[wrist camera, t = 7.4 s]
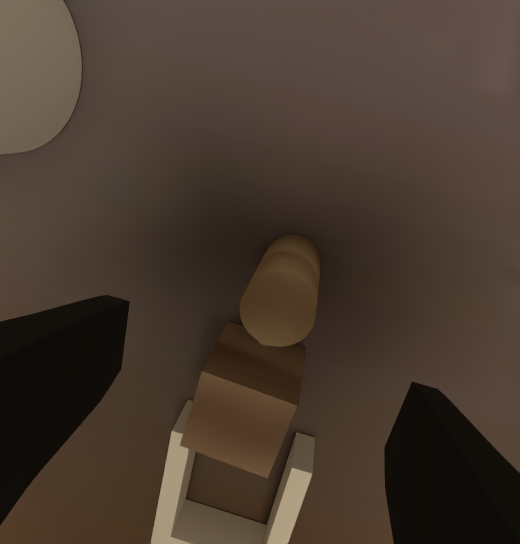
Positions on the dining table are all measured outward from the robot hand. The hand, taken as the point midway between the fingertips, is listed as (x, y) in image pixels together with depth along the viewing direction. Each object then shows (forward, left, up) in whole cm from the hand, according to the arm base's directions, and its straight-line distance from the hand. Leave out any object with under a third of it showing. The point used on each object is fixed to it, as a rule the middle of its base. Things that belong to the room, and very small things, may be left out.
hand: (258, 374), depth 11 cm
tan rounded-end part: (-2, +3, -10) cm, 10 cm away
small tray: (-9, +9, -10) cm, 16 cm away
